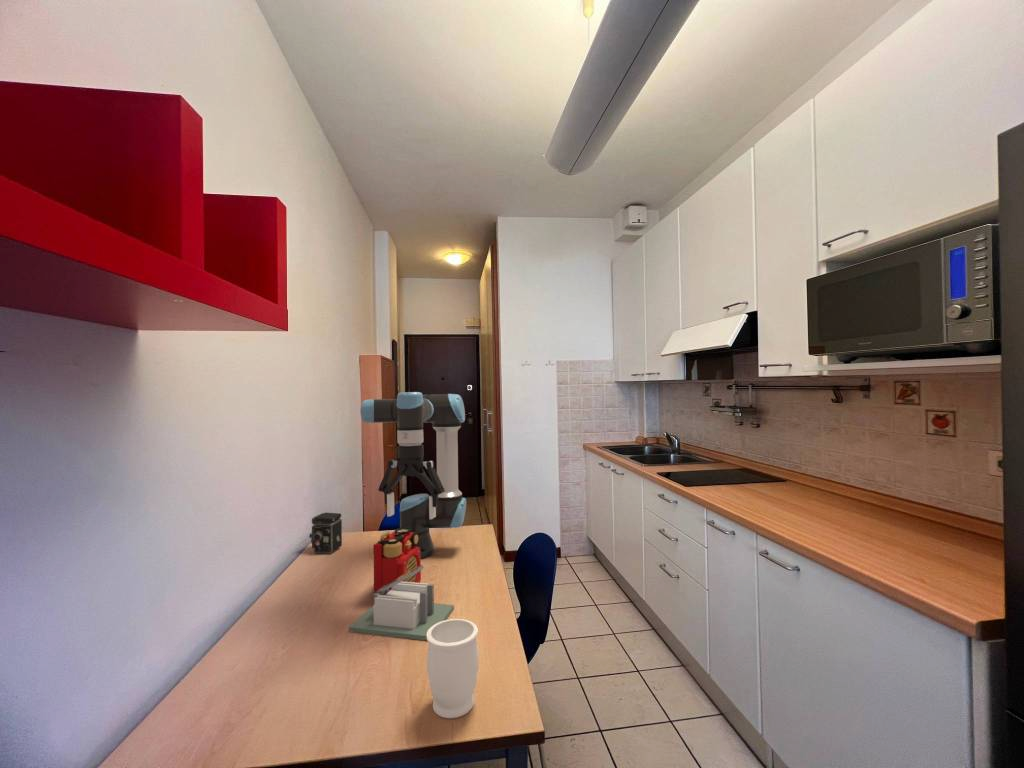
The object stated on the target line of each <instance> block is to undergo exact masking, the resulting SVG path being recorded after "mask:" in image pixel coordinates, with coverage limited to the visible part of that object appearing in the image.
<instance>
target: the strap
mask: <svg viewBox="0 0 1024 768" xmlns="http://www.w3.org/2000/svg"><path fill="white" fill-rule="evenodd" d="M424 568H425V567H424V565H423V564H421V566H419V567H417V568H415V569H414V570H412V571H410V570H409V571H407V572H405V573H404V574H402V575H401V576H399V577H398V578H397V579H396V580H394V581H392V582H390V583H388V584H387V585H385V586H383V587H382V588H380V589H379V590H378V591H377V593H381V595H383V594H384V593H385V592H386V590H387V589H389V588H391V587H393V586H394V585H396V584H398V583H400V582H402V581H403V580H405V579H407V578H409V577H411V576H412V575H414V574H416V573H418V572H420V571H421V572H422V570H423V569H424Z"/></svg>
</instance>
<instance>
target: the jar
mask: <svg viewBox="0 0 1024 768" xmlns="http://www.w3.org/2000/svg"><path fill="white" fill-rule="evenodd" d="M478 635H479V629H478V626H477V625H476V623H474V622H472V621H471V620H469V619H464V618H463V619H462V618H451V619H447V620H444V621H441V622H439V623H436V624H435V625H433V626H432V627H431V628H430V629H429V630H428V632H427V641H426V642H427V643H428V648H427V655H426V670H427V672H426V673H427V677H428V680H429V681H428V682H429V687H430V693H431V696H432V698H433V701H432V709H433V712H434V713H435V714H436V715H437V716H439V717H440V718H444V719H455V718H461V717H463V716H465V715H466V714H468V713H469V712H470V711H471V709H473V707H474V705H475V697H474V692H475V689H476V685H477V678H478V671H479V663H480V662H479V659H480V657H479V656H480V655H479V648H478V647H479V646H478V641H477V638H478Z"/></svg>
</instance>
